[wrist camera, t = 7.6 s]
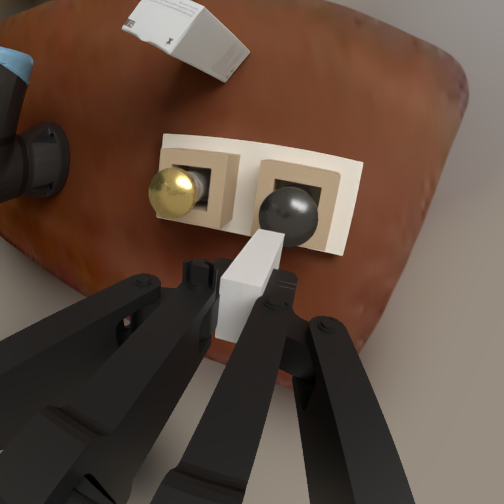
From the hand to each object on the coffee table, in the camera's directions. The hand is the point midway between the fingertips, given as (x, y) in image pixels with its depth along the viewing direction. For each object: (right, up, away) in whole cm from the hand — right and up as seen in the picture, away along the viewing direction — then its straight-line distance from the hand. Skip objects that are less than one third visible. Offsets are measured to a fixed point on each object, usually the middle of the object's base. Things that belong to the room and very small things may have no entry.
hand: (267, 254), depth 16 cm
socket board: (-1, +9, +21) cm, 23 cm away
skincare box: (-6, +27, +16) cm, 32 cm away
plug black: (+4, +6, +17) cm, 19 cm away
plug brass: (-7, +9, +20) cm, 23 cm away
